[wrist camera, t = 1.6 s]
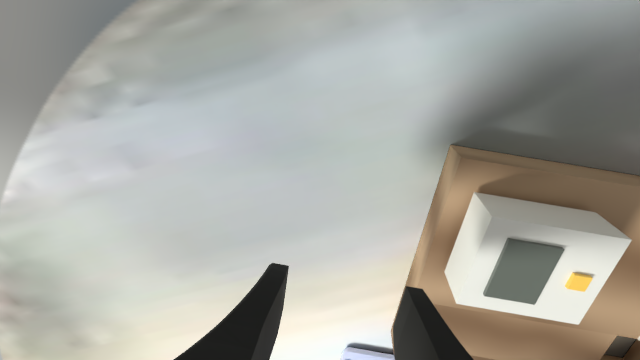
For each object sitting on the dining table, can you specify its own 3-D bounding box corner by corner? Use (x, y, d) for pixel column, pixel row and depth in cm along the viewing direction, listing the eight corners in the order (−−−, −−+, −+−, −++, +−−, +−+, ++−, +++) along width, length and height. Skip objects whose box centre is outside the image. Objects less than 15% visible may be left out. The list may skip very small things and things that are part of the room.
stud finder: (552, 290, 19) (581, 328, 17) (444, 272, 19) (457, 306, 17) (595, 212, 17) (635, 242, 15) (473, 191, 17) (494, 218, 15)
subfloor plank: (702, 385, 24) (733, 416, 22) (390, 331, 24) (394, 356, 22) (863, 212, 18) (923, 234, 16) (450, 144, 19) (461, 158, 17)
